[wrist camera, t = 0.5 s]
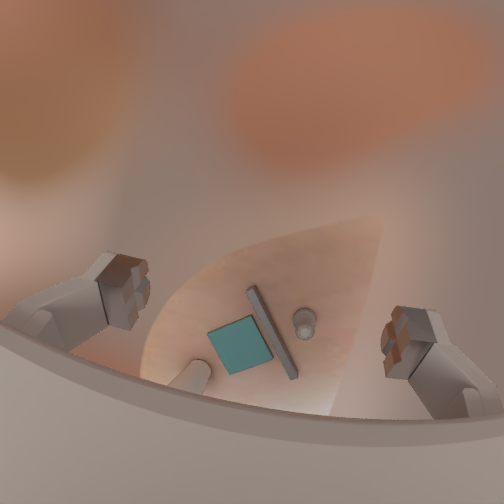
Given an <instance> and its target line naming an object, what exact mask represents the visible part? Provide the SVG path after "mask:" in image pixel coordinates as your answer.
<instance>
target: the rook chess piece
mask: <svg viewBox="0 0 504 504" xmlns="http://www.w3.org/2000/svg"><path fill="white" fill-rule="evenodd" d="M293 323H294V326H295V327H296V330H295V332H296V335H297V337H298V338H299V339H301V340H308V339H310V338H311V337H312V336H313V335H314V328H313V327H314V326H315V323H316V316H315V314H314V312H313V311H311V310H310V309H306V308H305V309H300V310H298V311H297V312H296V313H295V314H294V317H293Z"/></svg>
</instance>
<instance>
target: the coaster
mask: <svg viewBox="0 0 504 504" xmlns="http://www.w3.org/2000/svg"><path fill="white" fill-rule="evenodd" d="M207 336H208V337H209V339H210V341H211V343H212V345H213V346H214V348H215V350H216V352H217V354H218V355H219V357H220V359H221V361H222V363H223V364H224V366H225V368H226V370H227V371H228V373H229V375H231V374H234V373H237V372H239V371H242V370H245V369H248V368H251V367H253V366H256V365H259V364H261V363H264V362H267V361H269V360H272V359H273V355H272V353H271V351H270V349H269V347H268V345H267V343H266V342H265V340H264V338H263V336H262V334H261V332H260V330H259V328H258V326H257V324H256V322H255V320H254V318H253V316H252V315H250V316H247V317H245V318H243V319H240V320H238V321H235V322H233V323H231V324H228V325H226V326H223V327H221V328H219V329H216V330H214V331H211V332H209V333H208V334H207Z"/></svg>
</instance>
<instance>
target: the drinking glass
mask: <svg viewBox="0 0 504 504" xmlns="http://www.w3.org/2000/svg"><path fill="white" fill-rule="evenodd" d="M210 376H211V368H210V366H209V365H208V364H207V363H206V362H204V361H202V360H194V361H192V362H190V363H189V364H188V366H187V367H186V368H185V369H184V370H183V371H182V372H181V373H180V374H179V375H177V376H176V377H175V378H174V379H173V380H172V381H171V382H170V383H169V384H168V385H167V386H169V387H172V388H176V389H180V390H183V391H187V392H191V393H195V394H199V395H203V393H204V390H205V387H206V385H207V382H208V380H209V378H210Z"/></svg>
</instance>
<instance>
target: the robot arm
mask: <svg viewBox="0 0 504 504" xmlns="http://www.w3.org/2000/svg"><path fill="white" fill-rule="evenodd" d="M148 270H149V269H148V263H147V261H146V260H144V259H139V258H135V257H131V256H127V255H123V254H117V253H113V252H109V251H107V252H104V253H103V254H102V255H101V256H100V257H99V258H98V259H97V260H96V261H95V262H94V263H93V265H92V266H91V267H90V268H89V269H88V270H87V271H86V272H85V273H84V274H83V276H82V277H75V278H73V279H70V280H67V281H65V282H62V283H60V284H57V285H55V286H52V287H50V288H47V289H45V290H42V291H40V292H38V293H35V294H33V295H30V296H28V297H26V298H23V299H21V300H20V301H19V302H18V304H17V305H16V306H15V307H14V308H13V309H12V310H11V311H10V312H9V314H8V315H7V316H6V317H5V318H4V319H3V320H2V321H0V504H504V409H503V405H502V402H501V399H500V396H499V393H498V390H497V387H496V386H495V385H494V384H493V383H492V382H491V381H490V380H489V378H487V377H486V375H485V374H484V373H483V372H481V370H480V369H479V368H478V367H477V366H476V365H474V363H473V362H472V361H470V360H469V359H468V358H467V357H466V356H465V355H464V354H463V353H462V352H461V351H460V350H459V349H458V348H457V347H456V346H455V345H451V344H450V341H449V338H448V336H447V333H446V330H445V328H444V325H443V323H442V320H441V318H440V315H439V313H438V312H437V311H436V310H431V309H418V308H411V307H405V306H396V307H395V308H394V310H393V312H392V314H391V316H392V321H390V322H389V323H387V324H386V326H385V328H384V330H383V332H382V336H381V351H382V353H383V354H384V355H385V356H386V358H385V360H384V362H383V363H384V369H385V376H386V378H394V379H405V380H408V382H409V383H410V385H411V386H412V388H413V389H414V391H415V392H416V394H417V395H418V396H419V398H420V399H421V401H422V402H423V404H424V405H425V407H426V408H427V410H428V411H429V413H430V414H431V416H432V417H433V419H434V420H379V419H359V418H343V417H332V416H322V415H313V414H304V413H296V412H289V411H282V410H275V409H269V408H263V407H257V406H251V405H246V404H241V403H236V402H231V401H226V400H221V399H217V398H212V397H208V396H203V395H199V394H195V393H191V392H187V391H183V390H180V389H176V388H172V387H169V386H165V385H162V384H158V383H155V382H151V381H148V380H145V379H141V378H138V377H135V376H132V375H129V374H126V373H123V372H120V371H117V370H114V369H111V368H108V367H106V366H103V365H100V364H97V363H94V362H92V361H89V360H86V359H84V358H82V357H79V356H77V355H74V354H72V353H69V351H70V350H72V349H73V348H75V347H77V346H78V345H80V344H81V343H83V342H84V341H86V340H87V339H89V338H90V337H92V336H94V335H95V334H97V333H98V332H100V331H102V330H103V329H105V328H106V327H108V325H111V326H114V327H117V328H122V329H125V330H129V331H131V329H132V328H133V326H134V324H135V323H136V321H137V319H138V318H139V316H138V311H140V310H141V309H143V308H145V306H146V304H147V302H148V299H149V295H150V281H149V280H148V279H147V277H146V276H145V275H146V274H147V273H148Z"/></svg>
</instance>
